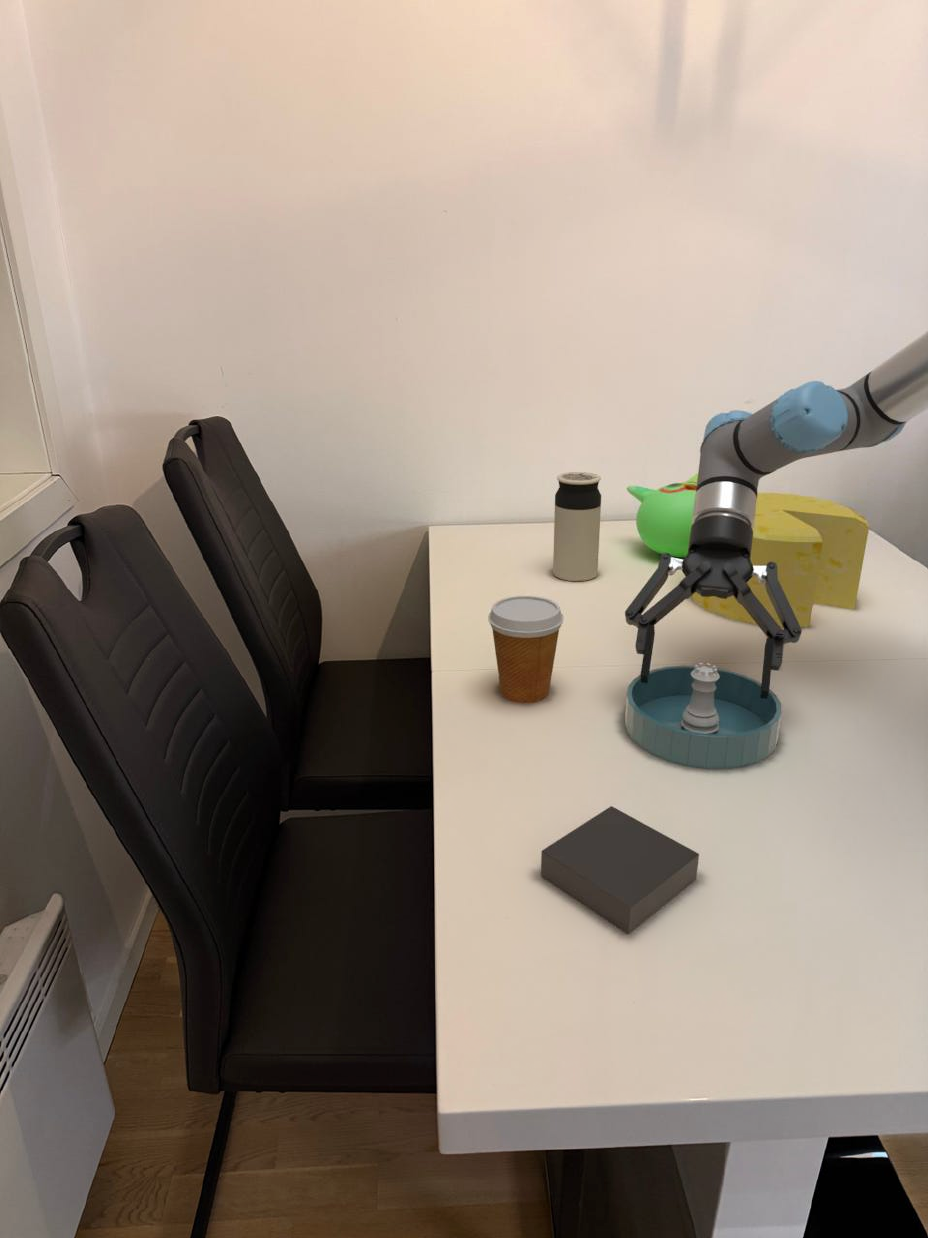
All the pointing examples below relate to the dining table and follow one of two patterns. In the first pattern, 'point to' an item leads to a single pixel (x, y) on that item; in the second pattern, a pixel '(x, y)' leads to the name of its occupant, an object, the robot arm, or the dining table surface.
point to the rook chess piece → (702, 701)
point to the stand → (619, 868)
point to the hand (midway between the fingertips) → (703, 687)
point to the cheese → (802, 556)
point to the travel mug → (577, 526)
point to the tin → (734, 745)
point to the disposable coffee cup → (525, 645)
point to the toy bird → (666, 516)
